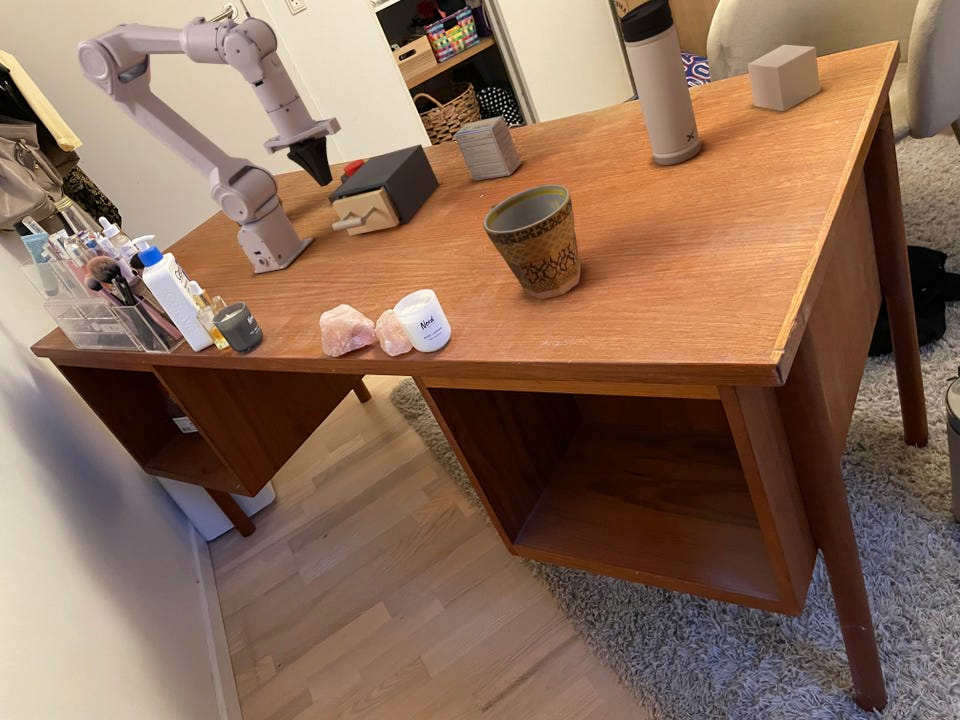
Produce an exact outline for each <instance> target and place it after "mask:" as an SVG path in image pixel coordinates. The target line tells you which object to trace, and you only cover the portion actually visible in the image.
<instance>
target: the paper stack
mask: <svg viewBox="0 0 960 720" xmlns="http://www.w3.org/2000/svg"><path fill="white" fill-rule="evenodd" d="M453 137H454V139H455V141H456V143H457V146H458V148H459V151H460V153H461V155H462V158H463V160H464V163H465V165H466V167H467V169H468V171H469V174H470V177H471V178H472V180H473V181H474V182H475V181H482V180H488V179H496V178H501V177H507V176H509V177H510V176H511V175H513V174H514V172H515V171H516V170H517V169H518V168H519V167H520V166H521V164H522V160H521V157H520V155H519V153H518V150H517V148H516V144H515V142H514V139H513V137H512V134H511V132H510V129H509V127H508V125H507V122H506V119H505V117H504V116H503V115H500V116H495V117H490V118H486V119H480V120H477V121H473V122H468V123H465V124H464V125H463V126H462V127H461V128H459V130H458V131H457V132H456V133H455V134H454V135H453Z"/></svg>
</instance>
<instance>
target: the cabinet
mask: <svg viewBox="0 0 960 720" xmlns="http://www.w3.org/2000/svg"><path fill="white" fill-rule="evenodd" d="M365 162H366V163H365V164H364V165H363V166H362V167H361V168H360V169H359V170H357V171H356V172H355V173H354V174H353V175H352V176H351V177H350V178H349V179H348V180H347V181H346V182H345V183H344V184H343V185H342V186H341V187H340V188H339V189H338V190H337V191H336V192H335V193H334V195H335V197H336V199H337V200H340V199H343V196H344V195H346V194H350V193H355V192H359V191H363V190H367V189H371V188H375V187H379V186H384V185H385V187H386V189H387V191H388V193H389V194H390V196H391V198H392V200H393V202H394V204H395V206H396V208H397V210H398V212H399V214H400V218H397V219H398V221H399V224H398V225H397V226H400V225H405V224H408V223H409V222H410V221H411V219H412V218H413V217H414V216H415V215H416V213H417V212H418V211H419V210H420V208H422V206H423V205H424V204H425V203H426V201H427V200H428V199H429V198H430V197H431V195H432V194H434V192H435V191H436V190H437V188H438V187H439V186H440V183H439V180H438V179H437V176H436V174H435V171H434V169H433V167H432V165H431V163H430V161H429V158H428V157H427V155H426V152H425V150H424V148H423V145H422V144H421V143H420V144H417V145H416V144H415V145H413V146H409V147H405V148H402V149H398V150H395V151H390V152H387V153H383V154H379V155H376V156H372V157H370V158H369V159H367V161H365Z"/></svg>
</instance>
